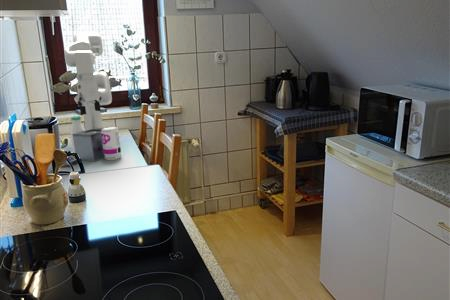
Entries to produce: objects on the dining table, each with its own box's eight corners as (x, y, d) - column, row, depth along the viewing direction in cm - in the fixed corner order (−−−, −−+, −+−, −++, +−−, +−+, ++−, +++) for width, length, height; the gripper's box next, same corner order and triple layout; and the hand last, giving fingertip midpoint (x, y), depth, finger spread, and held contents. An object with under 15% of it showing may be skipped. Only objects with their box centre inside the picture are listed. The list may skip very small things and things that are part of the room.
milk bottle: (86, 155, 205) (80, 117, 200) (71, 156, 205) (65, 118, 200) (91, 152, 212) (85, 114, 208) (77, 152, 213) (71, 115, 208)
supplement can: (111, 161, 191) (107, 130, 187) (101, 159, 196) (96, 129, 192) (125, 157, 197) (121, 127, 194) (114, 155, 202) (110, 126, 198)
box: (76, 159, 198) (72, 134, 195) (99, 151, 212) (96, 127, 209) (94, 161, 193) (90, 134, 190) (117, 153, 207) (113, 128, 204)
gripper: (77, 79, 184) (83, 115, 188) (104, 75, 199) (108, 109, 203) (66, 79, 187) (71, 115, 192) (93, 75, 202) (97, 109, 207)
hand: (90, 112), depth 198 cm, fingers open, 9 cm apart
